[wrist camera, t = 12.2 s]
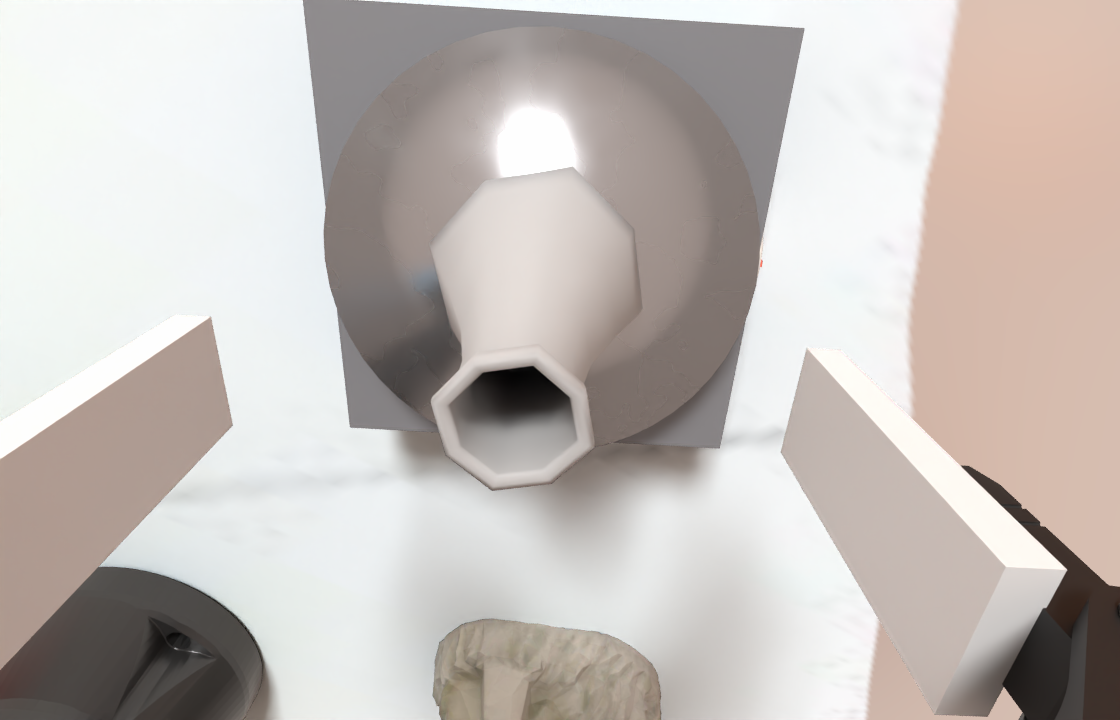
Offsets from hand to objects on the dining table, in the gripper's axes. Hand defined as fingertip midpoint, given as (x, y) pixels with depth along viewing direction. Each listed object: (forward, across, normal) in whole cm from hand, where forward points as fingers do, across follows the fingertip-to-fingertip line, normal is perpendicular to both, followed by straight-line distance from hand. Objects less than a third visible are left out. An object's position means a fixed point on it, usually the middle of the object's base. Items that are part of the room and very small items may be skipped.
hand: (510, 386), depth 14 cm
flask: (+8, 0, 0) cm, 8 cm away
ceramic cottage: (+16, -2, +32) cm, 36 cm away
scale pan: (+9, 0, 0) cm, 9 cm away
